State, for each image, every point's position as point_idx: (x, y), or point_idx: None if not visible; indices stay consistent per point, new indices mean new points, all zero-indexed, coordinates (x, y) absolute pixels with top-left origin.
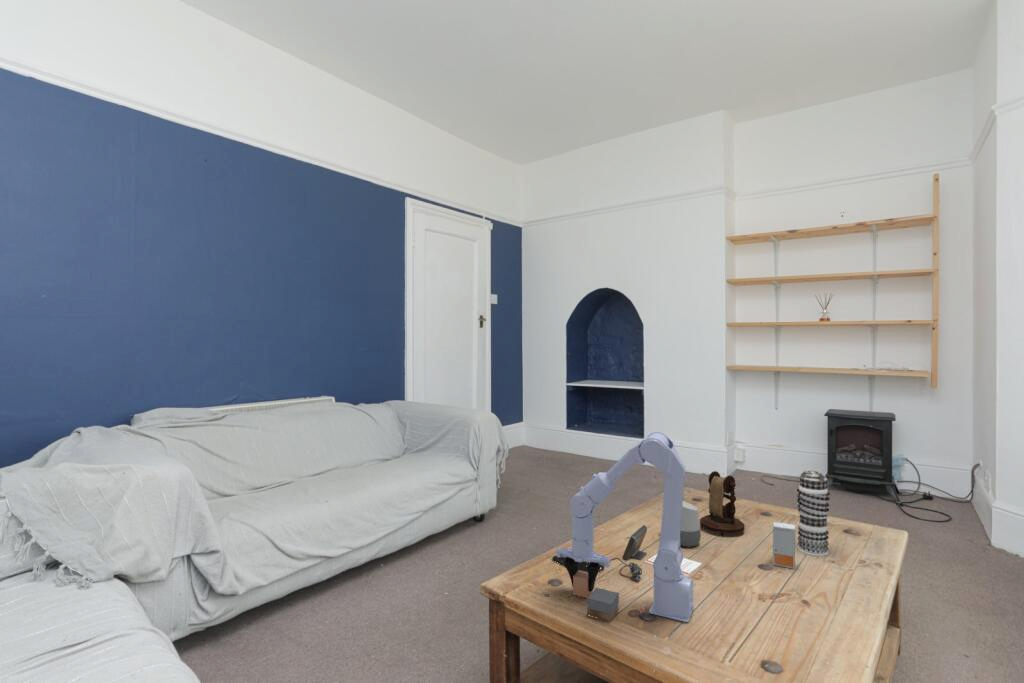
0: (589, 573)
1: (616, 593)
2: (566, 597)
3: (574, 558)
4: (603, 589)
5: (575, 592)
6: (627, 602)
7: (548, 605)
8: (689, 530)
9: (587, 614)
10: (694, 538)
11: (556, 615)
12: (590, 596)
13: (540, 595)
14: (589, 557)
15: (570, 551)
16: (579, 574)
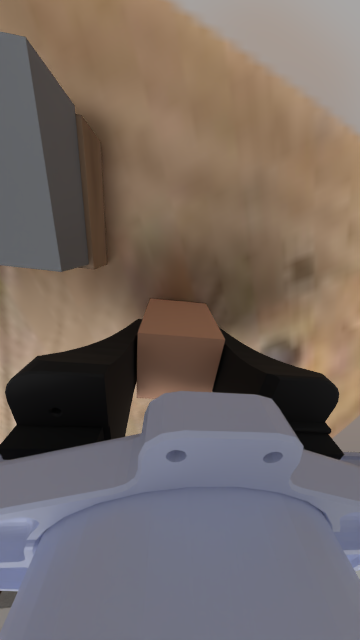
0: (111, 352)
1: None
2: (226, 279)
3: (300, 447)
4: (8, 265)
5: (199, 306)
6: (15, 325)
7: (293, 178)
8: (1, 613)
9: (96, 138)
10: None
11: (246, 73)
12: (22, 93)
13: (328, 256)
14: (47, 534)
15: (345, 549)
16: (196, 367)
